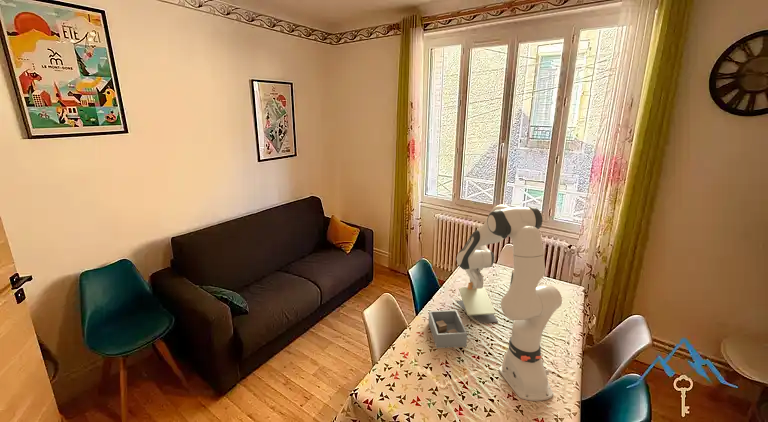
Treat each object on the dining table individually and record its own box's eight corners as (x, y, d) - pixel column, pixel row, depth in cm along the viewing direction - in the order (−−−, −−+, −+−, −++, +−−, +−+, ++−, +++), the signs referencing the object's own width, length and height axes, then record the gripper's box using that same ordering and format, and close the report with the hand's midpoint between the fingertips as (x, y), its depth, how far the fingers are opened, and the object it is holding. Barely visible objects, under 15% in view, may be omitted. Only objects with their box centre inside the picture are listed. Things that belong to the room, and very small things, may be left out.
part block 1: (446, 331, 166) (447, 325, 164) (439, 333, 164) (439, 326, 163) (442, 327, 169) (443, 320, 168) (435, 328, 168) (435, 321, 167)
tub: (466, 347, 156) (467, 333, 154) (436, 349, 155) (437, 334, 153) (455, 323, 173) (456, 309, 171) (428, 324, 172) (429, 311, 170)
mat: (497, 322, 174) (498, 321, 174) (467, 323, 173) (467, 322, 173) (484, 300, 193) (484, 299, 193) (456, 301, 192) (456, 300, 192)
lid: (494, 315, 176) (497, 307, 172) (467, 317, 175) (469, 308, 171) (483, 289, 191) (485, 281, 188) (458, 290, 190) (459, 282, 187)
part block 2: (458, 341, 160) (459, 333, 158) (451, 343, 158) (452, 336, 157) (453, 335, 163) (454, 328, 162) (446, 338, 161) (447, 331, 160)
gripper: (487, 273, 173) (484, 297, 178) (474, 256, 193) (472, 277, 197) (475, 274, 173) (473, 297, 178) (463, 256, 192) (461, 277, 197)
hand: (472, 286), depth 188 cm, fingers closed on lid
